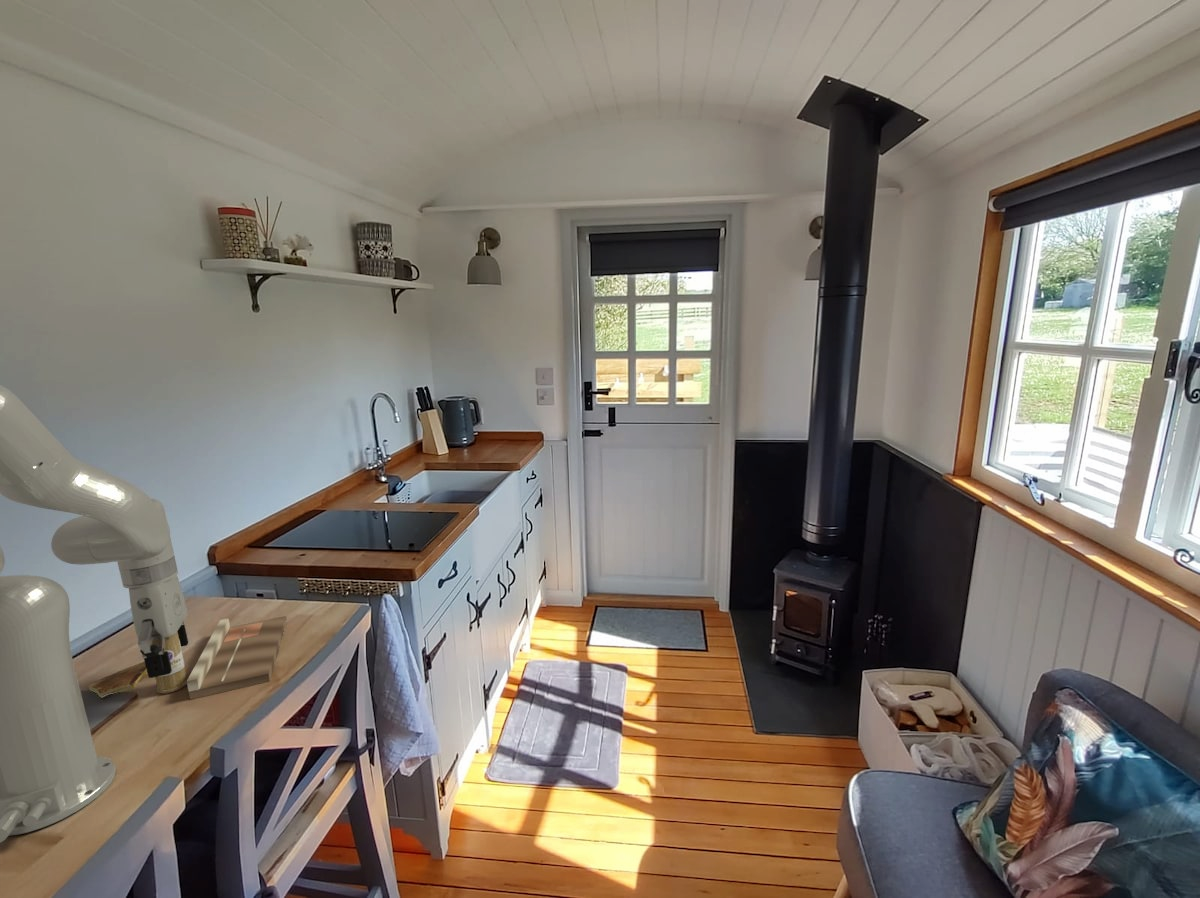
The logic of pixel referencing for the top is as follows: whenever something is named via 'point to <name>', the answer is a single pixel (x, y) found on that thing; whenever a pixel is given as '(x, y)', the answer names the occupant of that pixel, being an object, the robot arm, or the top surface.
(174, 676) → the sprinkles bottle
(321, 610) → the top surface
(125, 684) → the shard
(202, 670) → the guide board
